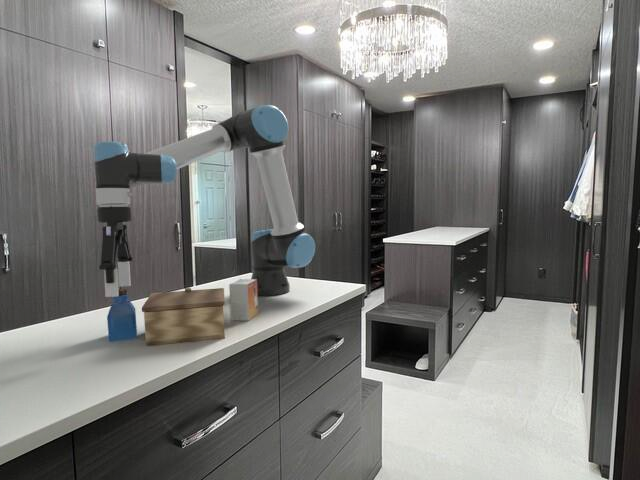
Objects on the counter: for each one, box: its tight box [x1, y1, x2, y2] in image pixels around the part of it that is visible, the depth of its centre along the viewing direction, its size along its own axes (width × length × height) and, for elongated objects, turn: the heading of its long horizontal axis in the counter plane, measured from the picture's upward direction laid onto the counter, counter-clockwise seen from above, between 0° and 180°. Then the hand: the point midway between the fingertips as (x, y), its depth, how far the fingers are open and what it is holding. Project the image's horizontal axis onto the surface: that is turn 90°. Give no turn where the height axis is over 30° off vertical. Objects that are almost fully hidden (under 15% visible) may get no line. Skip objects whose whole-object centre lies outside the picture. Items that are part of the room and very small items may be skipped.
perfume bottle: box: [106, 288, 138, 343], centre depth 105 cm, size 6×6×12 cm
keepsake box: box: [143, 305, 226, 347], centre depth 106 cm, size 18×14×8 cm
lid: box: [141, 287, 226, 313], centre depth 105 cm, size 19×14×2 cm
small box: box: [228, 278, 259, 322], centre depth 120 cm, size 8×6×10 cm
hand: (118, 291), depth 104 cm, fingers open, 13 cm apart
